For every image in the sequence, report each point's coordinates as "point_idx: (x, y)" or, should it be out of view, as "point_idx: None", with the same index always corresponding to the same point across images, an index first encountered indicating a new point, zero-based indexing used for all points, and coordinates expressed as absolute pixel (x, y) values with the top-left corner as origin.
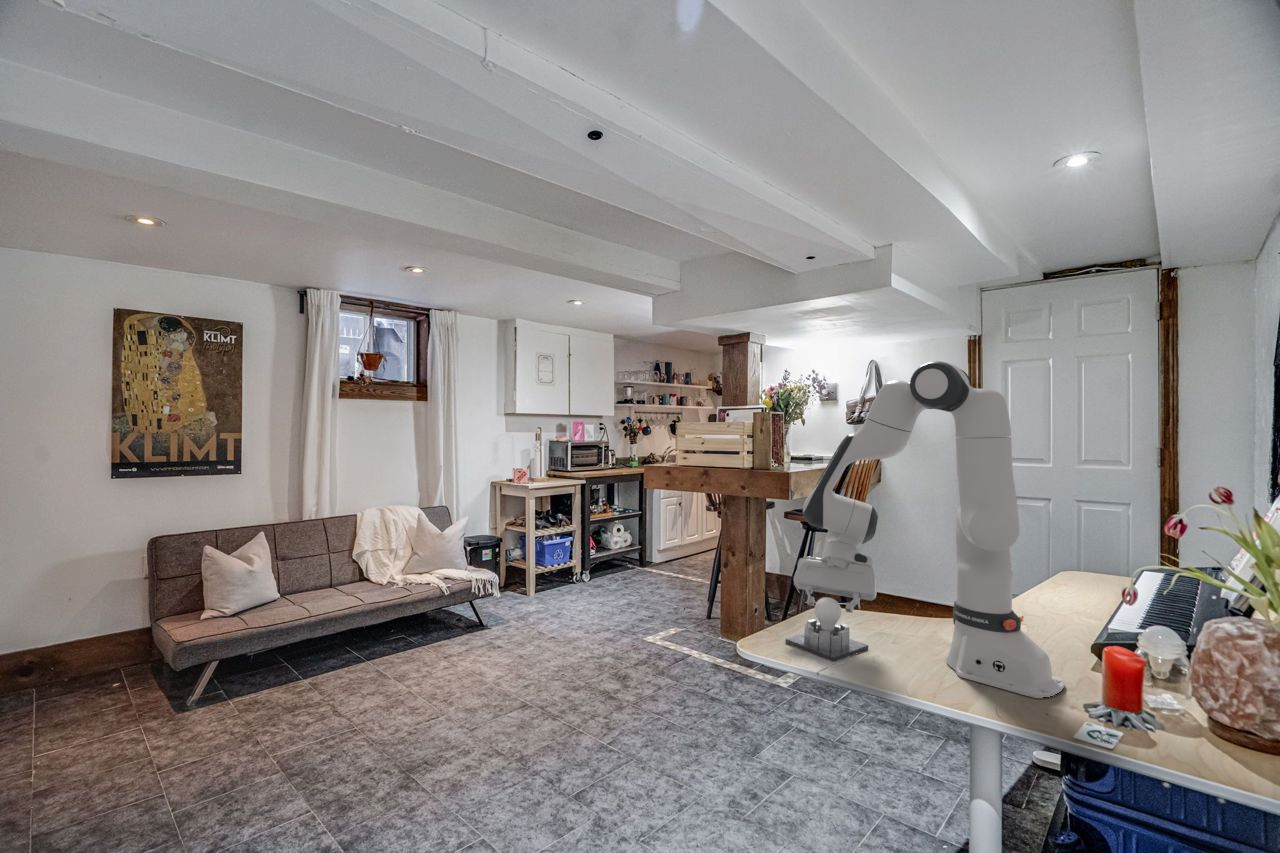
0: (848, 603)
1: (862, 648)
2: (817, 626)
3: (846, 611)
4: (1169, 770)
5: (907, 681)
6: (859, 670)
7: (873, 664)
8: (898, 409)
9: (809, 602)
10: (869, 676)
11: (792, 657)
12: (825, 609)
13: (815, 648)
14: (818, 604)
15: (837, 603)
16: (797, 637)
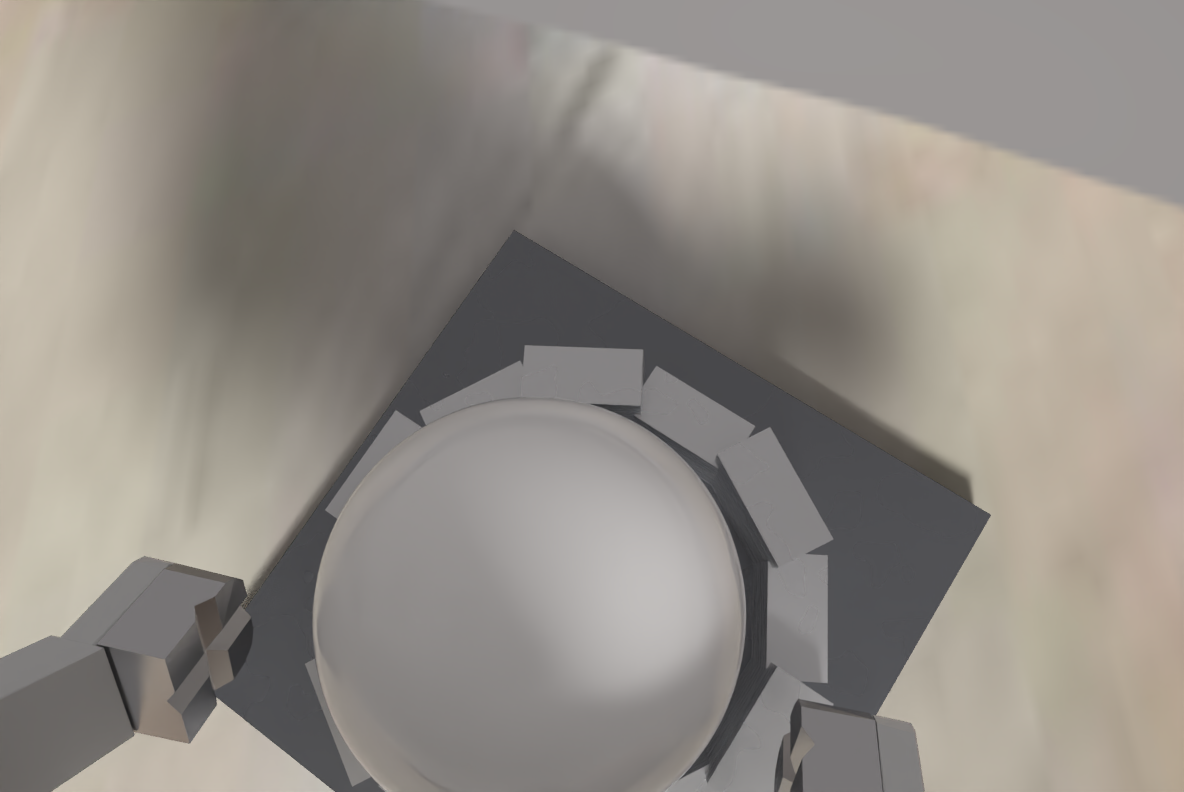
0: (139, 640)
1: (261, 594)
2: (693, 765)
3: (246, 620)
4: None
5: (33, 131)
6: (333, 174)
7: (217, 334)
8: None
9: (858, 715)
10: (273, 102)
11: (848, 201)
12: (555, 402)
13: (676, 374)
14: (675, 485)
15: (337, 567)
16: (883, 606)
